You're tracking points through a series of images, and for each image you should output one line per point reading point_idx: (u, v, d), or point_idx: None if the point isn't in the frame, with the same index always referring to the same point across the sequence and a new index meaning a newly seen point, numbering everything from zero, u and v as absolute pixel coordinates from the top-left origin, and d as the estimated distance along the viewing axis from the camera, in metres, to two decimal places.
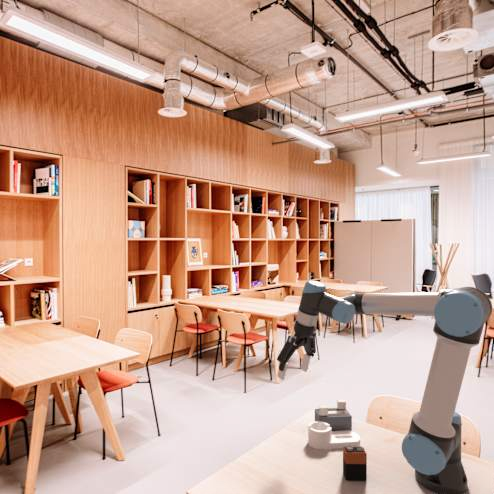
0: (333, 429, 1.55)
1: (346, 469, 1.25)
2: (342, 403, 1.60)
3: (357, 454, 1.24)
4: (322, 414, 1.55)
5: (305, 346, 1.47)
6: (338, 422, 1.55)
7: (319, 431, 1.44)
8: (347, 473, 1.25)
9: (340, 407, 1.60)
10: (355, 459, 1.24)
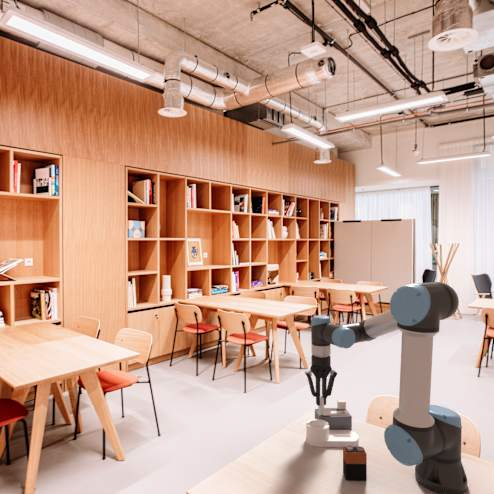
0: (333, 429, 1.55)
1: (346, 469, 1.25)
2: (342, 403, 1.60)
3: (357, 454, 1.24)
4: (325, 414, 1.55)
5: (322, 382, 1.55)
6: (338, 422, 1.55)
7: (316, 428, 1.46)
8: (347, 473, 1.25)
9: (340, 407, 1.60)
10: (355, 459, 1.24)
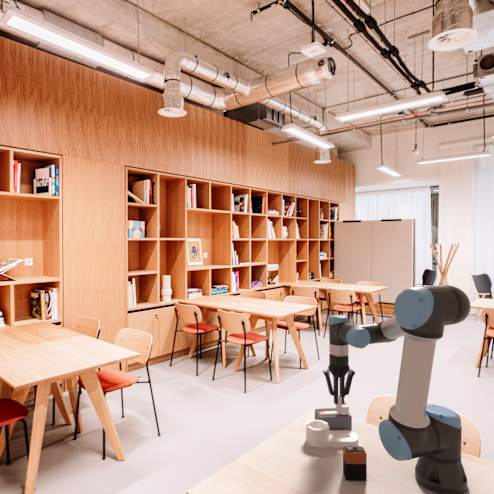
0: (333, 429, 1.55)
1: (346, 469, 1.25)
2: None
3: (357, 454, 1.24)
4: (343, 413, 1.55)
5: (340, 381, 1.56)
6: (338, 422, 1.55)
7: (316, 429, 1.46)
8: (347, 473, 1.25)
9: None
10: (355, 459, 1.24)
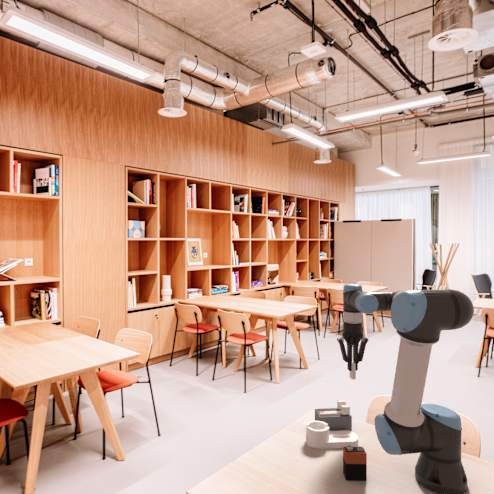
0: (333, 429, 1.55)
1: (346, 469, 1.25)
2: (342, 403, 1.60)
3: (357, 454, 1.24)
4: (344, 413, 1.55)
5: (354, 348, 1.60)
6: (338, 422, 1.55)
7: (316, 430, 1.45)
8: (347, 473, 1.25)
9: (340, 407, 1.60)
10: (355, 459, 1.24)
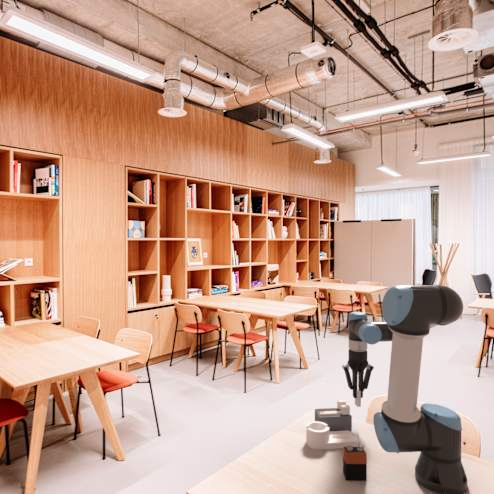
0: (333, 429, 1.55)
1: (346, 469, 1.25)
2: (342, 403, 1.60)
3: (357, 454, 1.24)
4: (344, 413, 1.55)
5: (359, 376, 1.62)
6: (338, 422, 1.55)
7: (317, 431, 1.44)
8: (347, 473, 1.25)
9: (340, 407, 1.60)
10: (355, 459, 1.24)
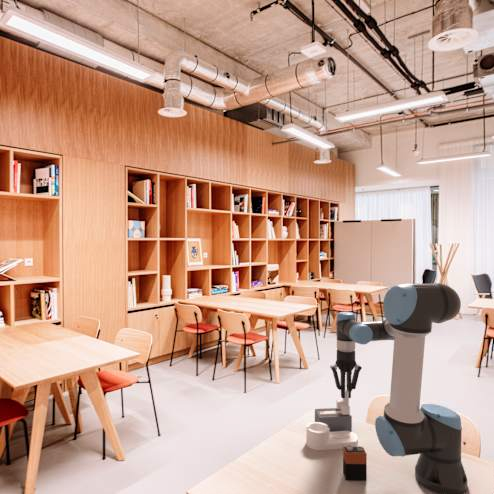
0: (333, 429, 1.55)
1: (346, 469, 1.25)
2: (341, 403, 1.60)
3: (357, 454, 1.24)
4: (344, 413, 1.55)
5: (347, 376, 1.62)
6: (338, 422, 1.55)
7: (318, 432, 1.44)
8: (347, 473, 1.25)
9: (339, 407, 1.60)
10: (355, 459, 1.24)
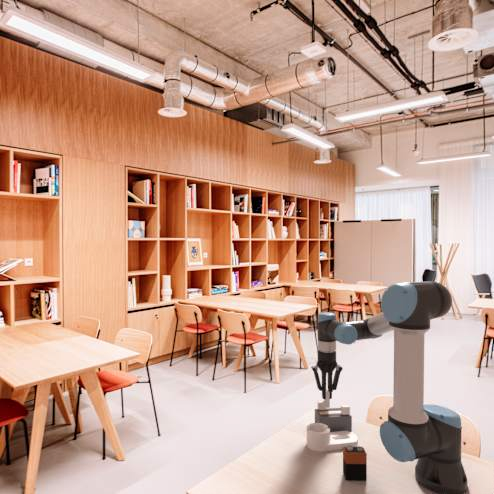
0: (333, 429, 1.55)
1: (346, 469, 1.25)
2: (322, 404, 1.60)
3: (357, 454, 1.24)
4: (344, 413, 1.55)
5: (328, 377, 1.61)
6: (338, 422, 1.55)
7: (318, 433, 1.43)
8: (347, 473, 1.25)
9: (320, 408, 1.60)
10: (355, 459, 1.24)
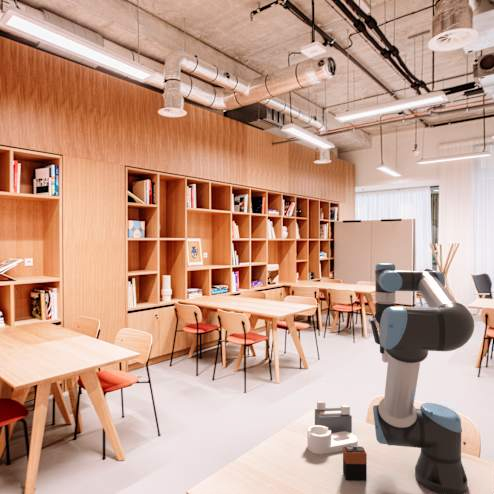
0: (333, 429, 1.55)
1: (346, 469, 1.25)
2: (321, 404, 1.60)
3: (357, 454, 1.24)
4: (344, 413, 1.55)
5: None
6: (338, 422, 1.55)
7: (321, 435, 1.41)
8: (347, 473, 1.25)
9: (319, 408, 1.60)
10: (355, 459, 1.24)
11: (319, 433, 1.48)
